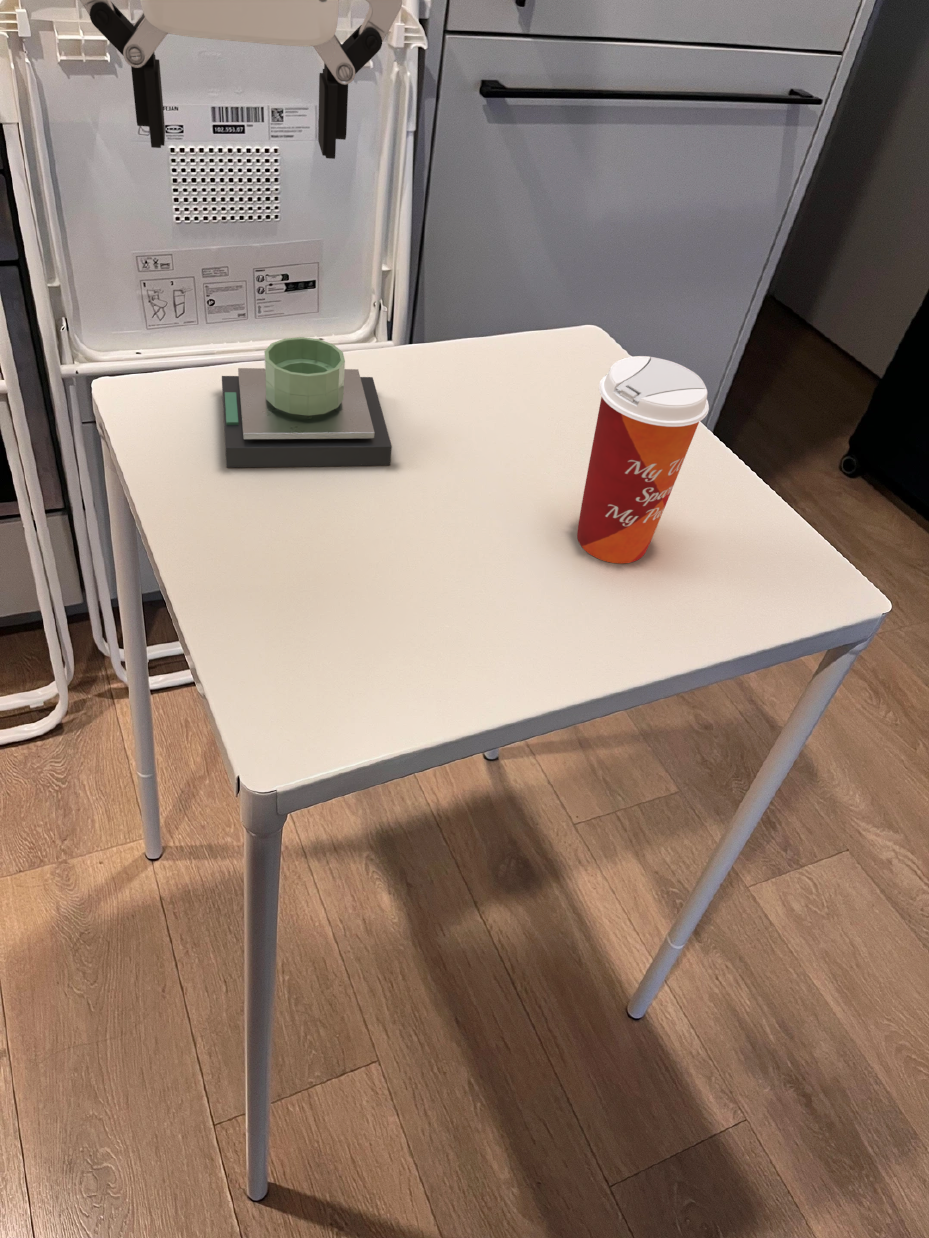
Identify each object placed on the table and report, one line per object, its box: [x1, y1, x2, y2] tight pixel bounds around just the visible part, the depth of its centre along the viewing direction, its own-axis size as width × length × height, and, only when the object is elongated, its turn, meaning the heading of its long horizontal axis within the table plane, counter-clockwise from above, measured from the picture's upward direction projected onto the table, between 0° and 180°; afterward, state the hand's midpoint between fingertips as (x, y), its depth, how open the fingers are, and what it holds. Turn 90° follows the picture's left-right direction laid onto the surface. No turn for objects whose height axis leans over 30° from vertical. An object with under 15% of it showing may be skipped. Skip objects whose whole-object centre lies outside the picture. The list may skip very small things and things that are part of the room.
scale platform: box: [237, 367, 375, 439], centre depth 84 cm, size 11×11×1 cm
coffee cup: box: [576, 355, 710, 564], centre depth 74 cm, size 8×8×15 cm
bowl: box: [263, 336, 346, 416], centre depth 82 cm, size 7×7×4 cm
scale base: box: [221, 375, 393, 469], centre depth 85 cm, size 14×12×2 cm
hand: (244, 146), depth 56 cm, fingers open, 9 cm apart
